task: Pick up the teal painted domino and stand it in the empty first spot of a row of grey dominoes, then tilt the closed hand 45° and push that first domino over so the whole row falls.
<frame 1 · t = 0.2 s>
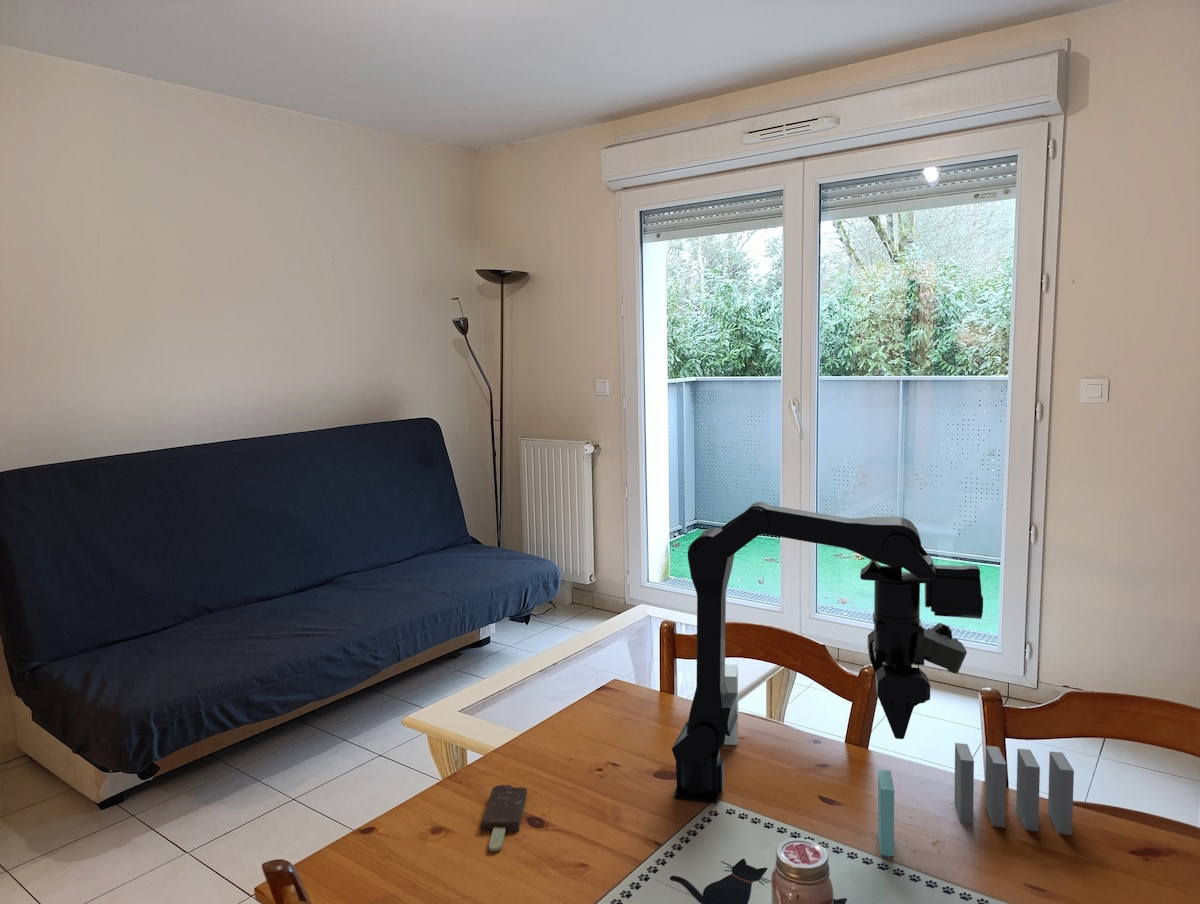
hand: (895, 722, 106), 14 cm above the table, tool pointing down, fingers open, 9 cm apart
domino 2: (963, 813, 109), on the table
placed domino: (885, 844, 102), on the table
domino 5: (1059, 823, 106), on the table
ice cream bar: (503, 824, 111), on the table
skincare box: (726, 738, 134), on the table
domino 4: (1026, 820, 107), on the table
domino 3: (994, 816, 108), on the table
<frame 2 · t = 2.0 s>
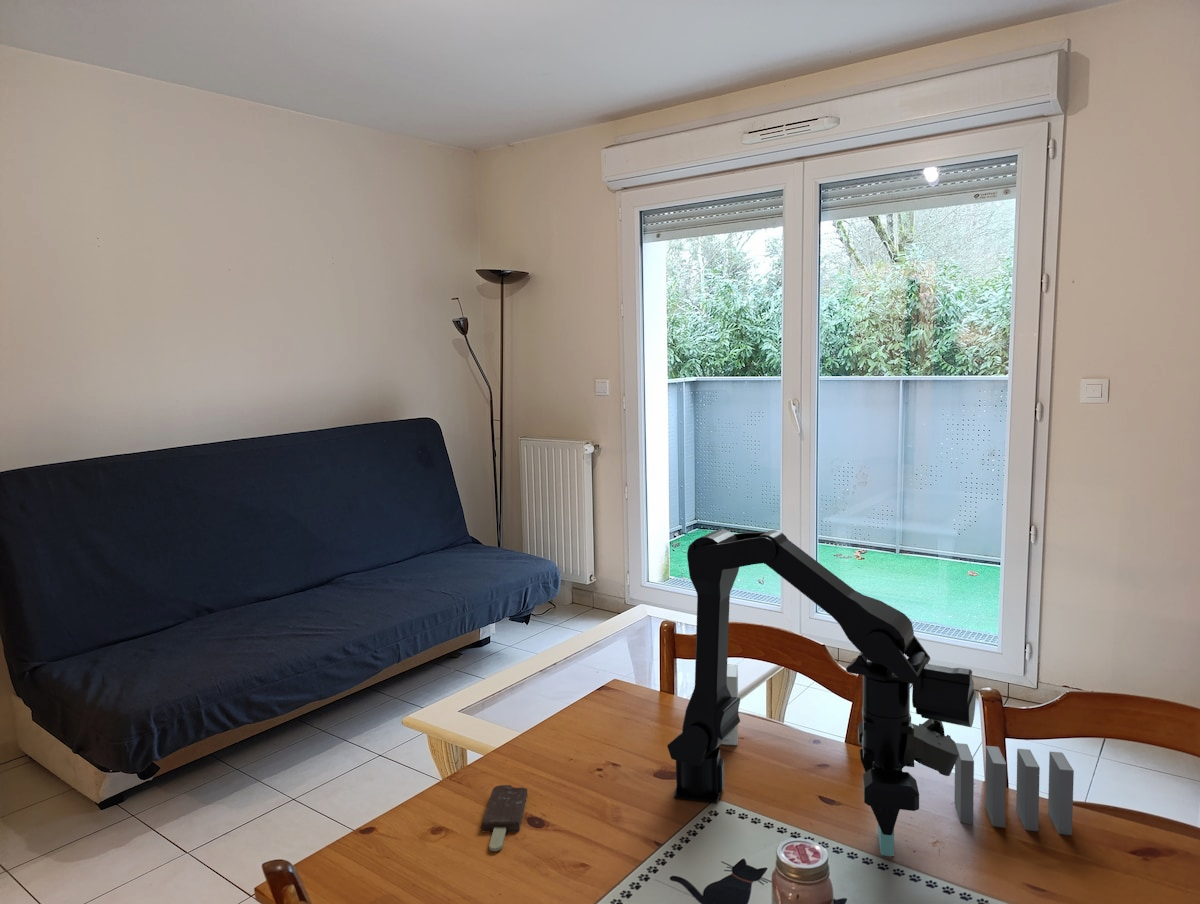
hand: (885, 822, 102), 3 cm above the table, tool pointing down, fingers closed on placed domino, 5 cm apart
placed domino: (885, 844, 102), on the table, touching gripper
everything else where it was.
when the fingers open (4 cm above the table, at t = 6.4 s): placed domino stays where it is, on the table.
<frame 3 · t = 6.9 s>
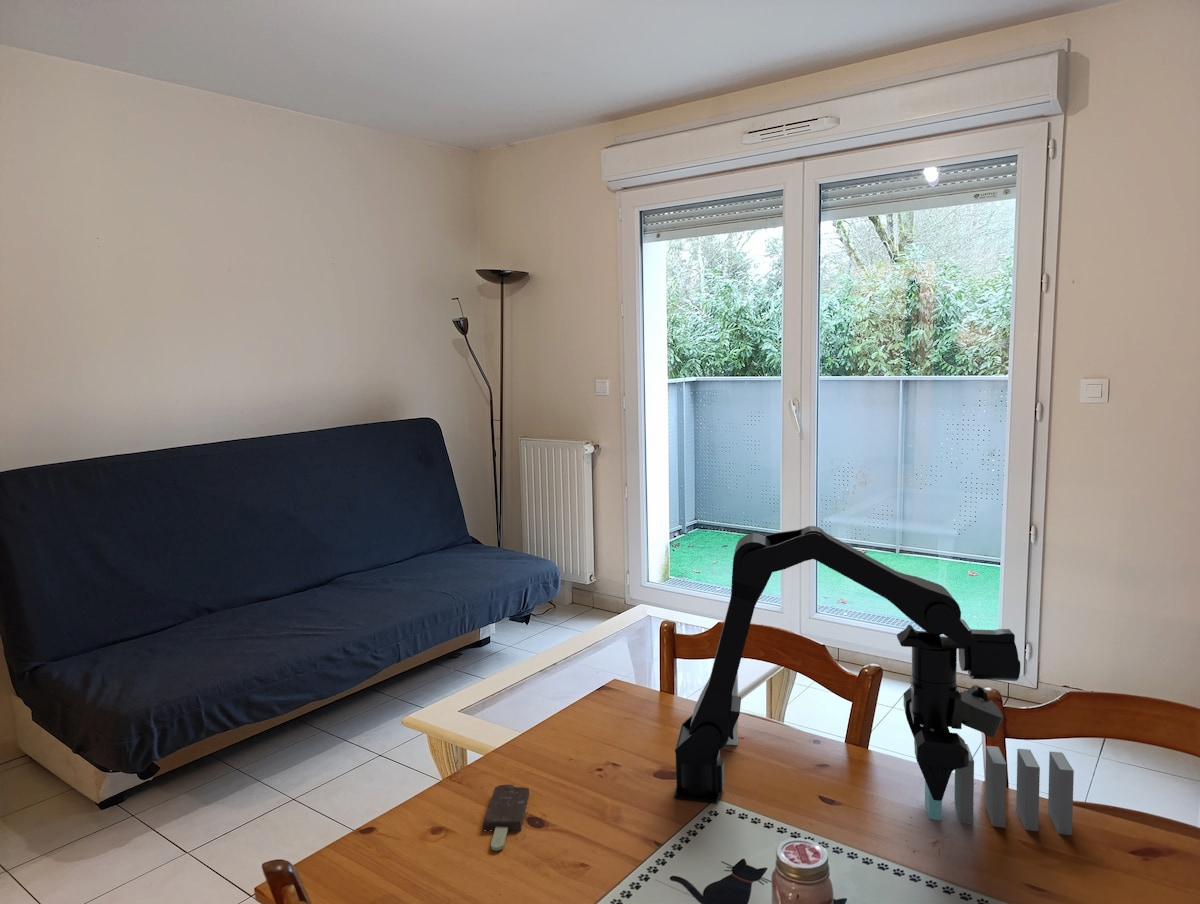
hand: (932, 782, 110), 4 cm above the table, tool pointing down, fingers open, 9 cm apart
placed domino: (933, 809, 110), on the table
everything else where it was.
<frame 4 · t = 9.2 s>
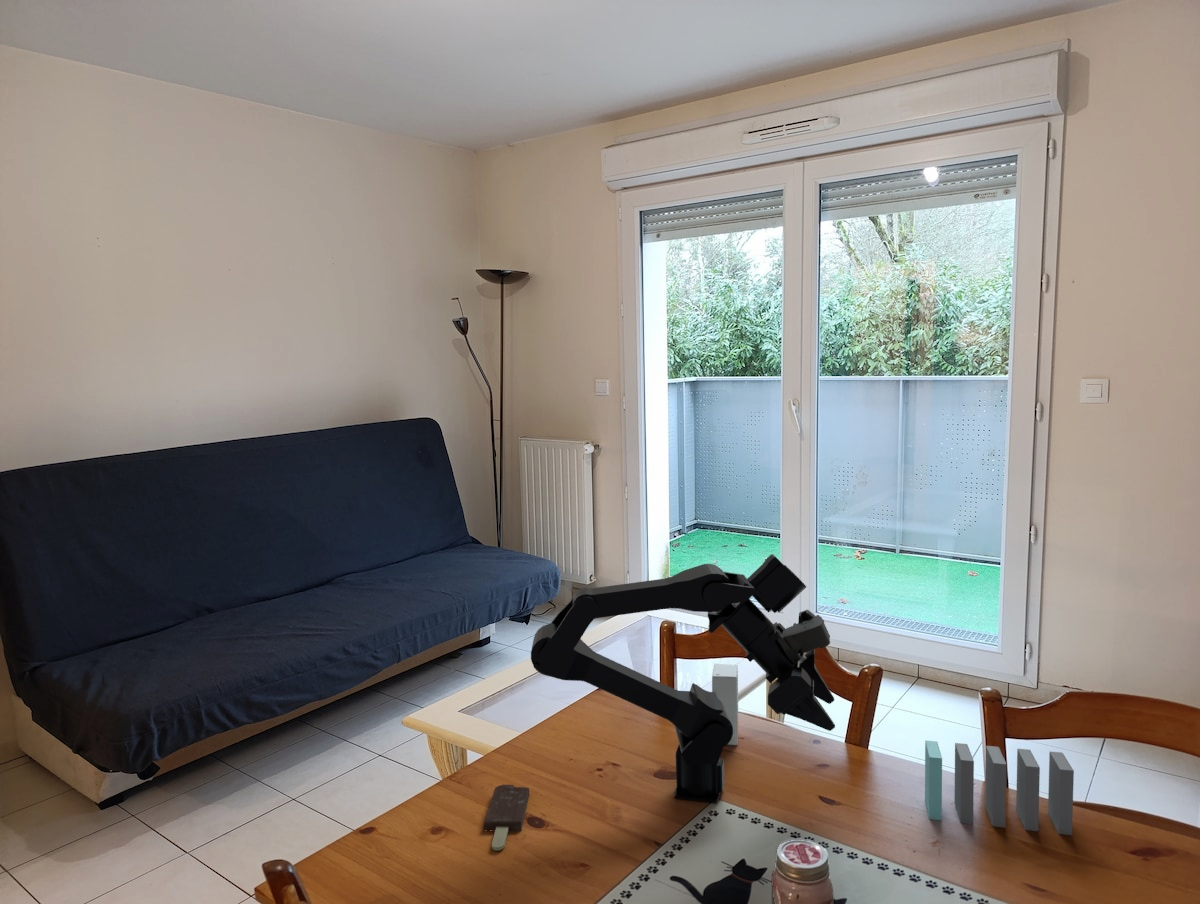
hand: (832, 714, 112), 13 cm above the table, tool tilted 45°, fingers open, 9 cm apart
nothing on the table moved.
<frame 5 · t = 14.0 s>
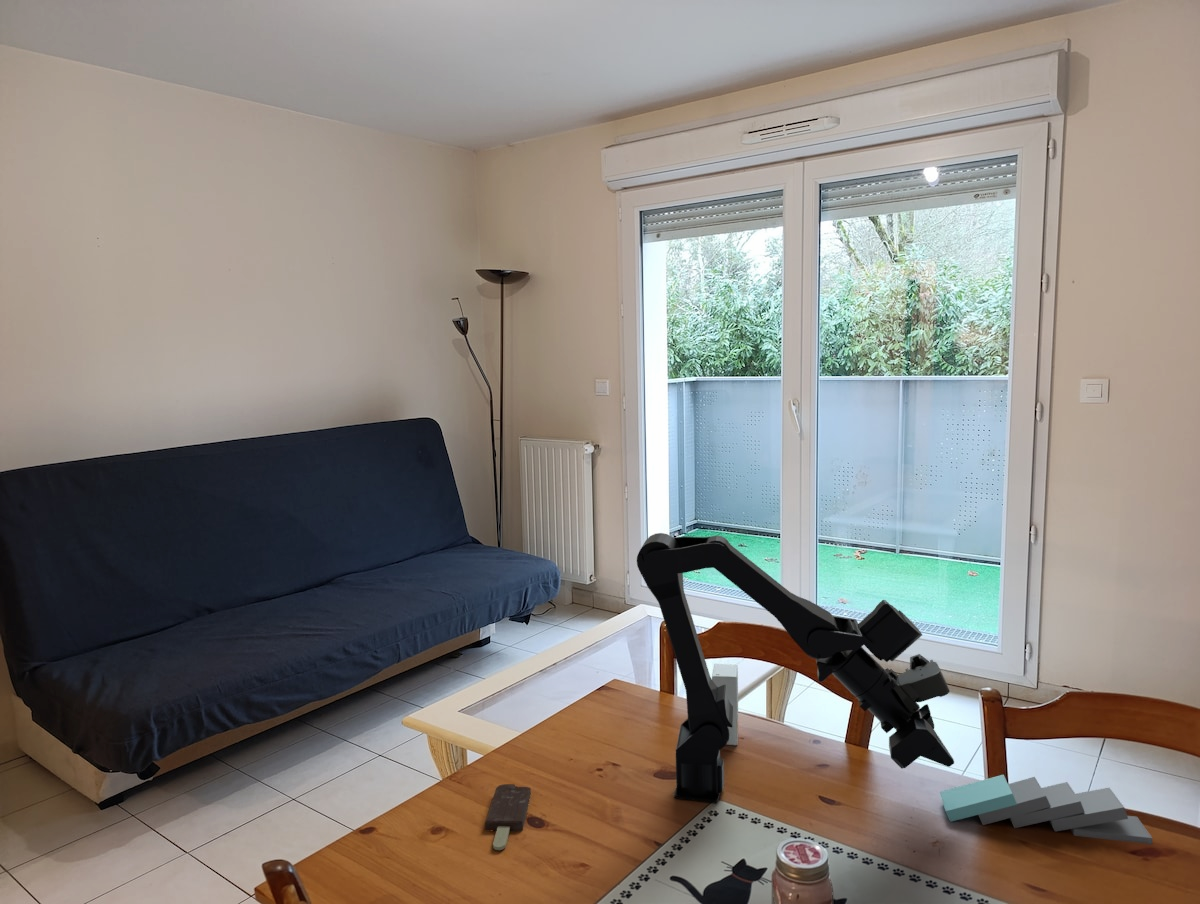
hand: (951, 763, 109), 7 cm above the table, tool tilted 45°, fingers closed
domino 2: (976, 809, 108), point 1 cm above the table, tilted 67°, touching domino 3, placed domino
placed domino: (944, 806, 109), point 1 cm above the table, tilted 67°, touching domino 2
domino 5: (1068, 824, 105), on the table, tilted 90°
domino 4: (1047, 815, 106), point 1 cm above the table, tilted 72°, touching domino 3
domino 3: (1007, 812, 107), point 1 cm above the table, tilted 70°, touching domino 2, domino 4
everything else where it was.
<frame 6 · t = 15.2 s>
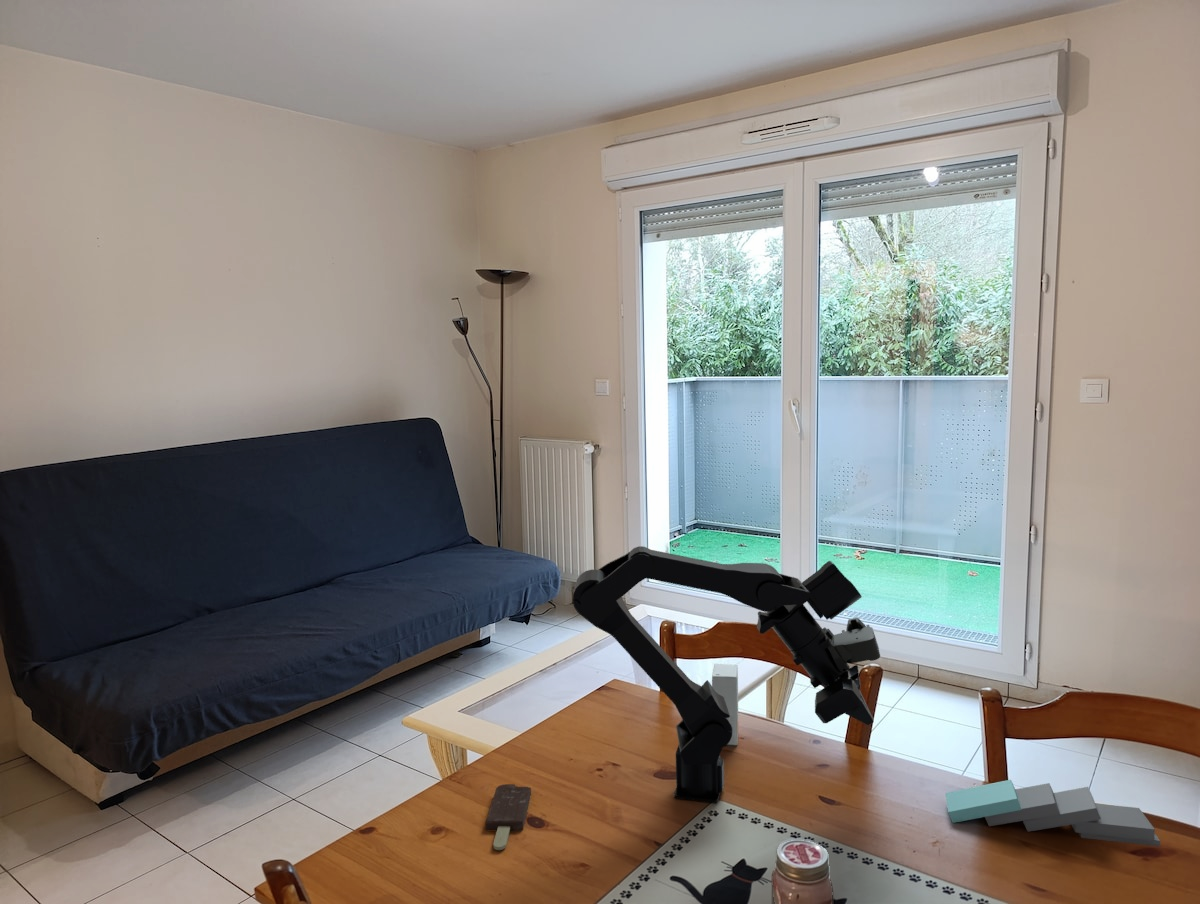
hand: (870, 722, 114), 11 cm above the table, tool tilted 35°, fingers closed
domino 2: (985, 810, 108), point 1 cm above the table, tilted 68°, touching placed domino
domino 5: (1074, 826, 105), on the table, tilted 90°, touching domino 4
domino 4: (1069, 816, 105), point 2 cm above the table, tilted 90°, touching domino 3, domino 5
domino 3: (1022, 815, 106), point 1 cm above the table, tilted 67°, touching domino 4
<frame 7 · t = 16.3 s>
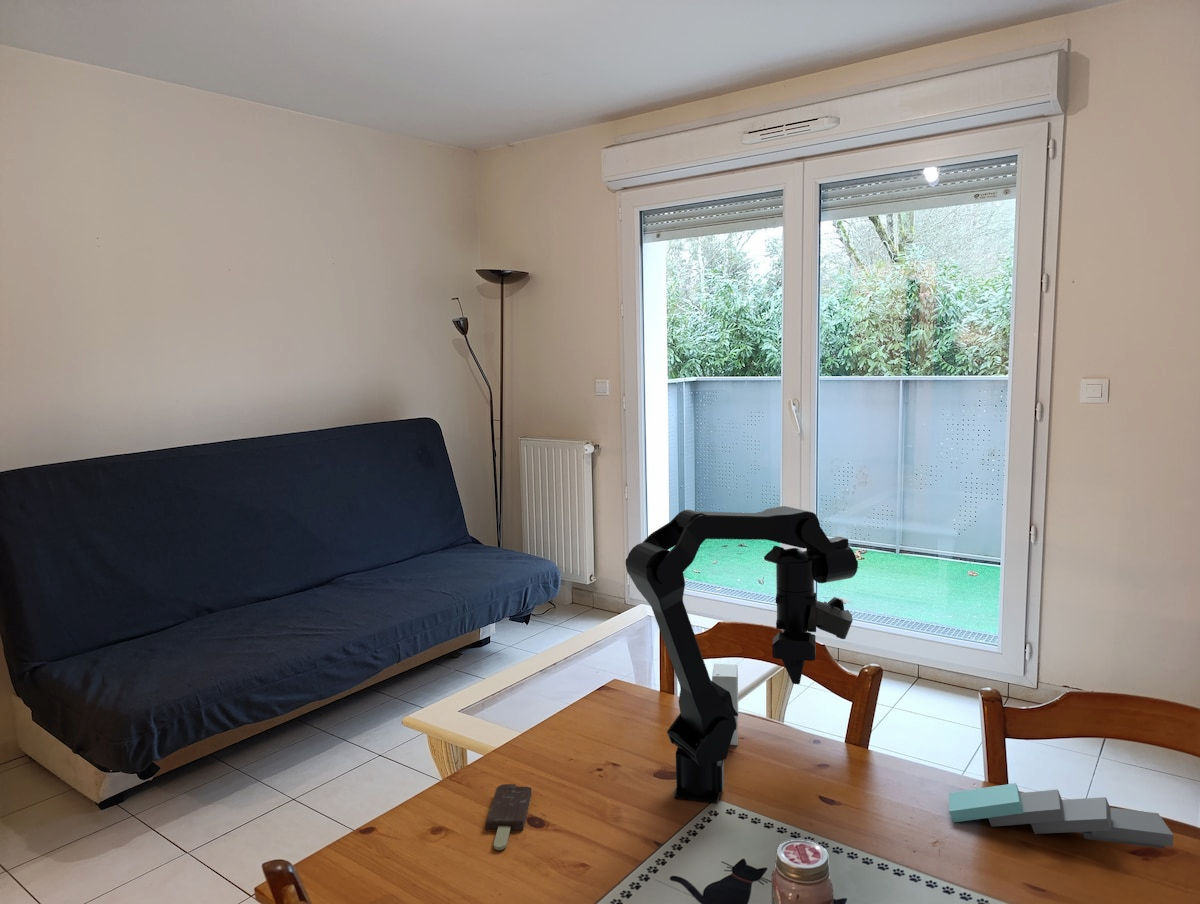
hand: (796, 683, 124), 13 cm above the table, tool pointing down, fingers closed
domino 2: (989, 811, 108), point 1 cm above the table, tilted 70°, touching domino 3, placed domino
domino 4: (1086, 819, 104), point 2 cm above the table, tilted 90°, touching domino 3, domino 5
domino 3: (1033, 817, 106), point 1 cm above the table, tilted 70°, touching domino 2, domino 4
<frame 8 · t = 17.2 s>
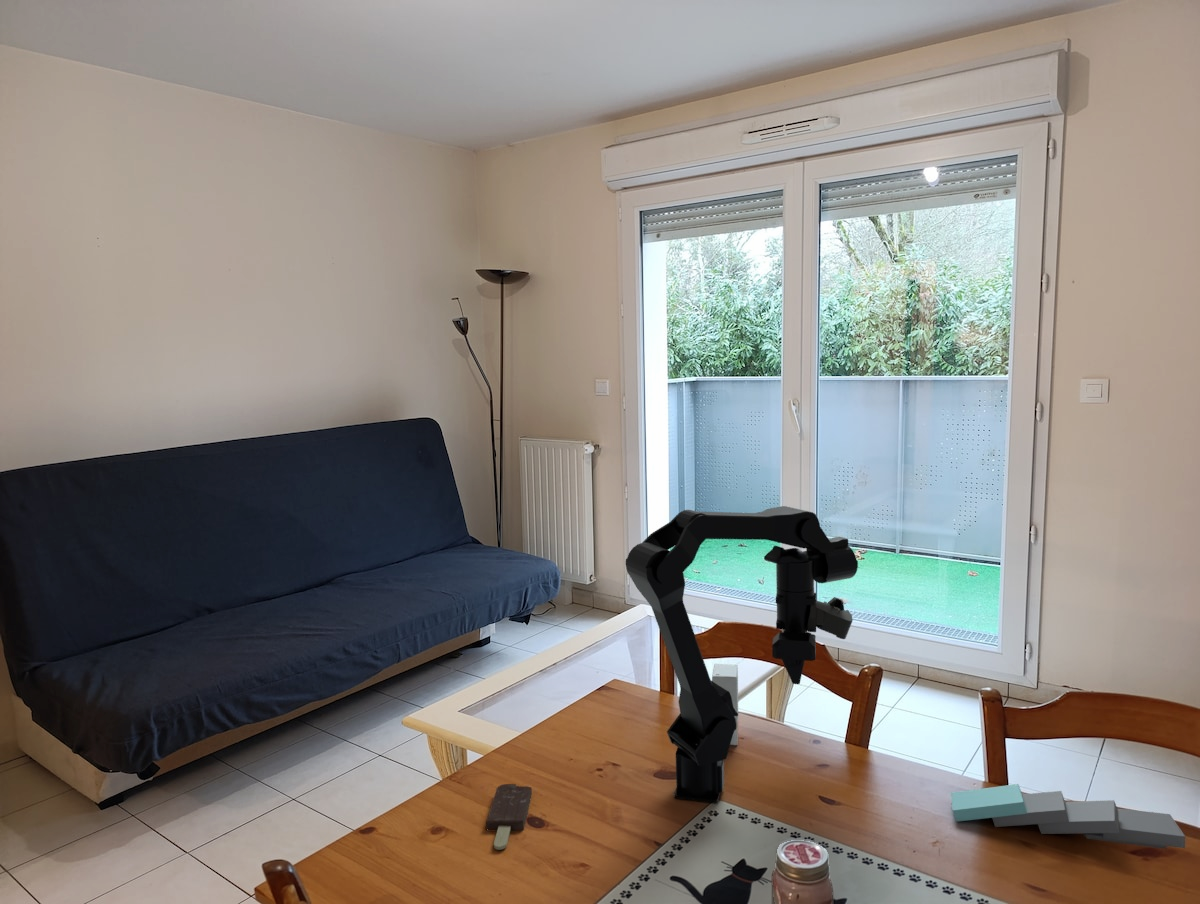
hand: (796, 683, 124), 13 cm above the table, tool pointing down, fingers closed
domino 4: (1097, 821, 104), point 1 cm above the table, tilted 89°, touching domino 5
domino 3: (1040, 818, 106), point 1 cm above the table, tilted 72°, touching domino 2
at the end: placed domino inside the target area (1.5 cm from its centre), point 0.8 cm above the table; domino 3 tilted 72°; domino 5 tilted 90° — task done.
